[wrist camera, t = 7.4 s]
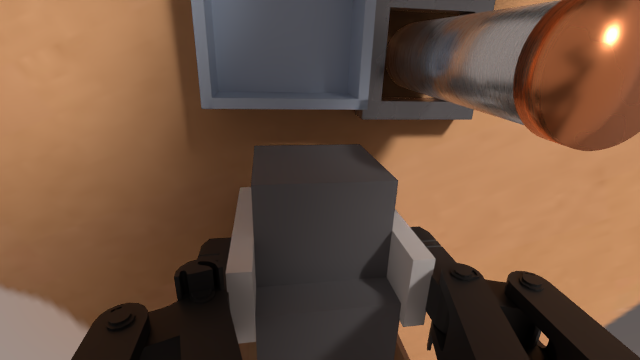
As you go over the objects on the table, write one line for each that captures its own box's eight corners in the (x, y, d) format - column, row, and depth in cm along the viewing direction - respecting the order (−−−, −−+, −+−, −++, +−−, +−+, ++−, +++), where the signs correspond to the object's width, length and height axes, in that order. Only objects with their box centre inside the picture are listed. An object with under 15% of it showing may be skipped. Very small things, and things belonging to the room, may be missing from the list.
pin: (385, 16, 18) (570, -28, 7) (453, 19, 19) (721, -17, 8) (378, 92, 20) (523, 152, 9) (441, 93, 20) (652, 149, 9)
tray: (195, -78, 15) (180, -105, 13) (363, -64, 17) (383, -85, 14) (211, 99, 18) (201, 108, 16) (352, 100, 20) (367, 109, 17)
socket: (364, -13, 17) (372, -18, 16) (479, -6, 18) (497, -10, 17) (355, 114, 20) (362, 119, 19) (458, 114, 21) (471, 119, 20)
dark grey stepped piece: (254, 145, 15) (249, 204, 9) (359, 144, 16) (416, 198, 10) (259, 273, 18) (258, 384, 12) (350, 266, 19) (392, 367, 13)
